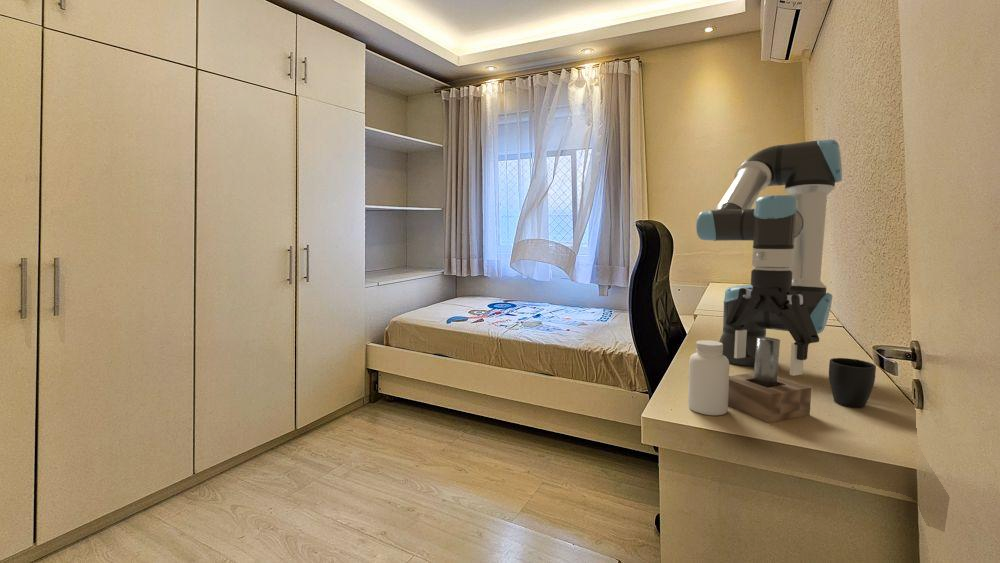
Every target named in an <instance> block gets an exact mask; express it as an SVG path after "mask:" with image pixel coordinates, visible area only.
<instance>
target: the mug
mask: <svg viewBox="0 0 1000 563" xmlns="http://www.w3.org/2000/svg"><path fill="white" fill-rule="evenodd" d="M876 367H877V365H876V364H874V363H871V362H869V361H865V360H862V359H861V360H860V359H857V358H848V357H845V358H844V357H833V358H830V359H829V364H828V379H829V381H828V382H829V386H830V390H831V394H832V398H833V402H834V403H835V404H837V405H840V406H843V407H847V408H853V409H862V408H865V407H866V405H867V402H868V400H869V399H870V396H871V394H872V392H873V389H874V386H875V380H876V372H877V371H876V369H877V368H876Z"/></svg>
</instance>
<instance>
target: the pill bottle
mask: <svg viewBox="0 0 1000 563" xmlns="http://www.w3.org/2000/svg"><path fill="white" fill-rule="evenodd" d="M695 351H696V352H693V353H692V354H691V355H690V357H689V362H688V395H687V396H688V397H687V398H688V399H687V401H688V402H687V403H688V404H687V405H688V407H689V409H690V410H692V412H696V413H697V414H701V415H704V416H705V415H706V416H723V415H725V414H726V413H727V412H728V409H729V406H728V391H729V376H730V363H729V360H728V359H727V357H725V356H724V355H722V353H723V344H722V343H721V342H719V341H717V340H708V339H706V340H703V339H702V340H701V339H700V340H697V341H695Z"/></svg>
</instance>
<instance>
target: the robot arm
mask: <svg viewBox="0 0 1000 563" xmlns="http://www.w3.org/2000/svg"><path fill="white" fill-rule="evenodd" d="M842 166H843V165H842V157H841V150H840V145H839V143H838V140H835V139H822V140H820V139H816V140H810V141H804V142H796V143H787V144H778V145H776V144H775V145H773V146H769V147H766V148H763V149H761V150H758V151H757V152H755V153H753V154H752V155H751V156H749V157H747V159H745V160H744V161H743V162H742V163H741V164H740V165H739V166H738V168H737V169H736V170H735V173H734V176H733V177H734V180H733V181H732V183H731V184H730V186H729V187H728V189H727V191H726V192H725V193H724V195H723V196H722V198H721V200H720V201H719V203H718V204H717V205H716V207H715V208H714V209H713V210H712V209H709V210H703V211H700V212H699V214H698V215H697V217H696V222H695V229H696V235H697V237H698V239H700V240H703V241H713V242H716V241H717V242H719V241H723V242H725V241H727V242H729V241H748V242H749V241H753V243H752V256H751V257H752V258H751V259H752V260H751V266H752V267H754V269H752V270H751V273H750V284H744V285H743V284H742V285H735V286H729V287H728V288H726V289H725V291H724V297H723V298H724V299H723V320H722V334H721V336H720V339H719V341H718V342H721V343H722V344H723V353H722V355H724V356H725V357H727V359H728V360H729V364H733V365H738V366H739V365H740V366H747V367H755V353H756V339H757V337H767V330H774V331H782V332H788V333H789V334H790V336H791V337H792V338H793V341H795V342H792V343H791V346H790V347H791V350H790V363H789V364H790V367H789V375H790V376H800V375H803V374H804V361H806V360H807V359H808V353H809V352H808V351H809V345H810V344H814V343H819V342H820V337H819V335H818V334H821V333H823V331H824V330H825V328H826V325H827V323H828V319H829V316H830V313H831V308H832V302H833V301H832V300H833V294H832V293H830V292H827V286H826V285H825V284H824V283H823V282H822V280H821V275H822V265H823V263H822V262H823V251H824V238H825V228H826V227H825V225H826V215H827V214H826V212H827V202H828V200H827V199H828V195H829V194H830V193H831V192H833V191H834V190H835V187H836V183H840V182H842V180H843V168H842ZM775 186H776V187H777V186H784V192H785V193H787V194H788V195H787V194H781V195H780V194H779V195H778V194H776V195H775V194H774V195H764V196H760V197H759V195H760V193H761V191H763V190H765V189H767V187H775ZM754 204H755V205H754ZM753 206H754V208H753Z"/></svg>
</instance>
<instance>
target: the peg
mask: <svg viewBox="0 0 1000 563" xmlns="http://www.w3.org/2000/svg"><path fill="white" fill-rule="evenodd" d="M780 345H781V339H779V338H775V337H768V336H766V337H757V339H756V353H755V366H753V367H754V369H753V370H754V371H753V373H754V382H753V383H755V384H758V385H761V386H764V387H767V388H769V387H775V386H777V377H778V373H779V372H778V371H779V358H780Z"/></svg>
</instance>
